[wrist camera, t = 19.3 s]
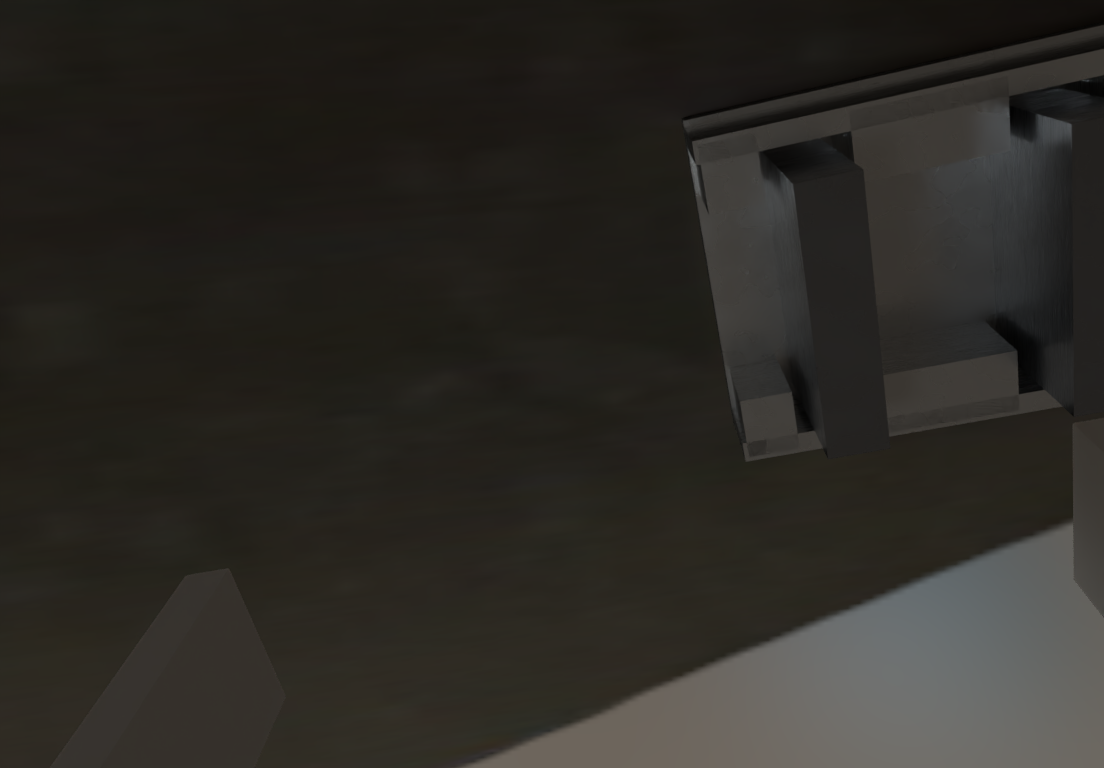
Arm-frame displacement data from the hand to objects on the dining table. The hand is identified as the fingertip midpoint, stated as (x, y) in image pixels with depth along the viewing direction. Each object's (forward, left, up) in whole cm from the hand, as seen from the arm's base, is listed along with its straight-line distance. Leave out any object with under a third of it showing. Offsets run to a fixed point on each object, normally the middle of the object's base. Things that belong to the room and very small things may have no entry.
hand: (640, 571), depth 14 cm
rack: (+6, +18, -32) cm, 37 cm away
